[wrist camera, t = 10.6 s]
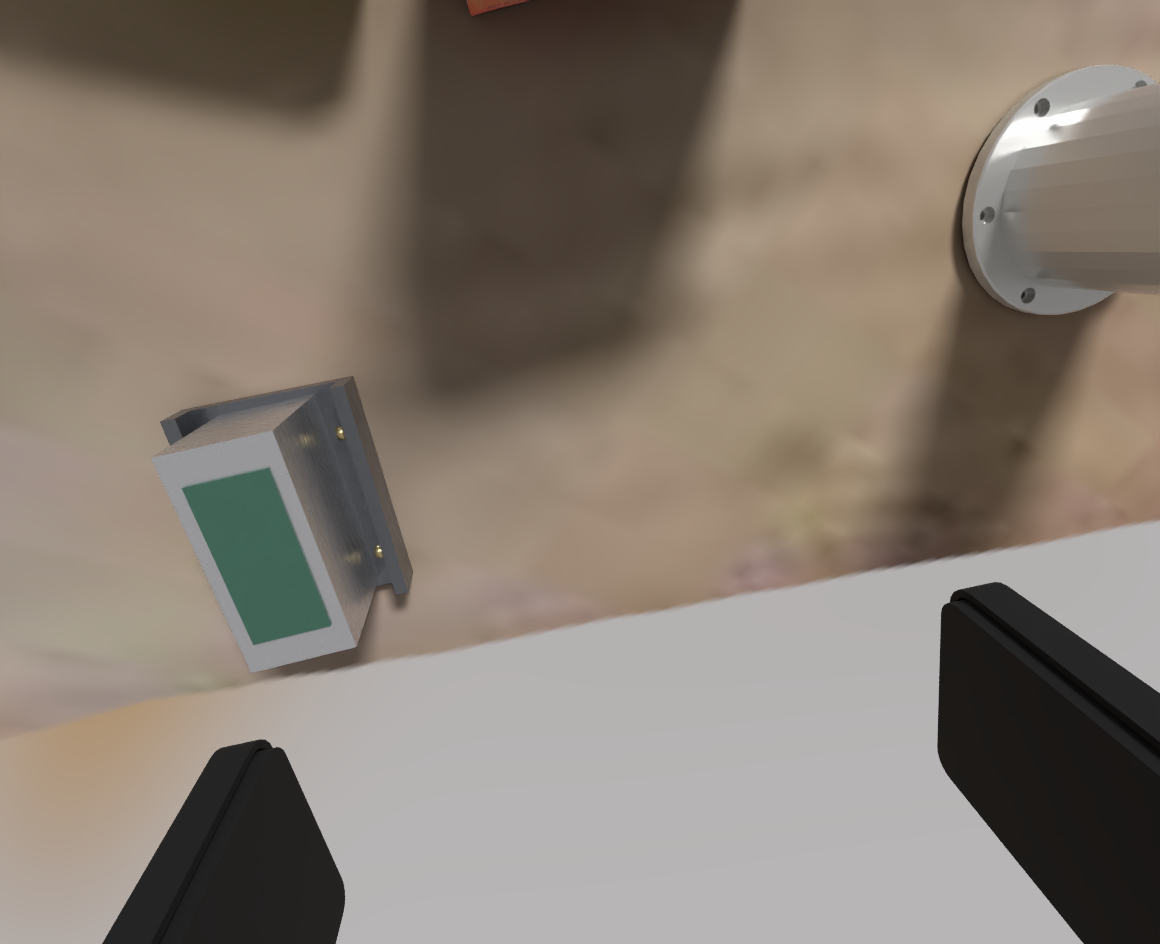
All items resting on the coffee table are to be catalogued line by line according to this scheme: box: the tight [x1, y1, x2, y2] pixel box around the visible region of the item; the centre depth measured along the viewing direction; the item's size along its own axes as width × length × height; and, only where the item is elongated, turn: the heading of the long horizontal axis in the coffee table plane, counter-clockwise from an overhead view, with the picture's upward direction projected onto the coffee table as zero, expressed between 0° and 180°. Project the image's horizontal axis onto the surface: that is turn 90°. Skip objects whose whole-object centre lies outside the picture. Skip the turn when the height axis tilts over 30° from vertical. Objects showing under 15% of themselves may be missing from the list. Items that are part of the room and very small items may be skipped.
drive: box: [151, 394, 380, 673], centre depth 32 cm, size 5×11×7 cm, turn 11°
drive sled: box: [160, 376, 413, 595], centre depth 34 cm, size 9×12×2 cm
